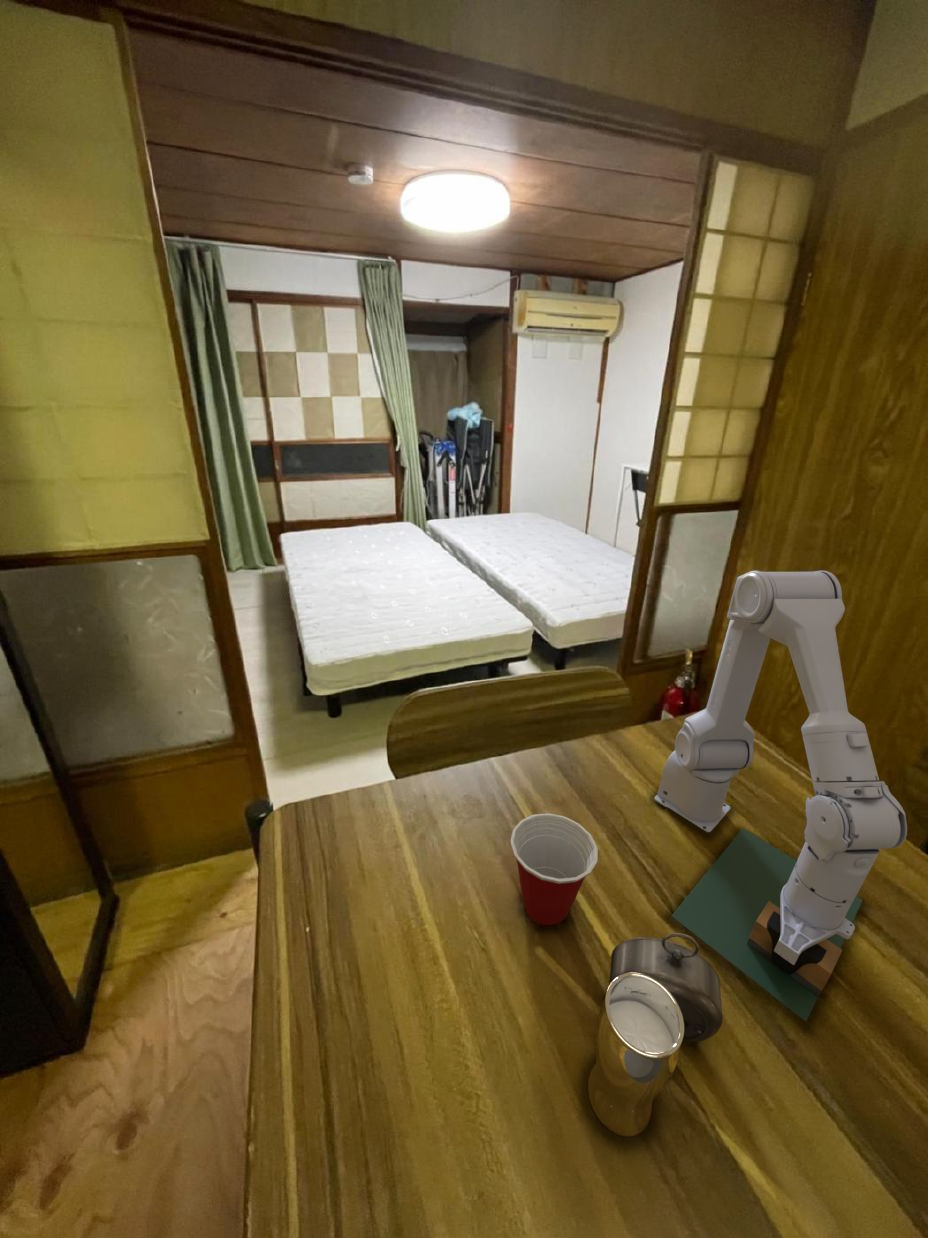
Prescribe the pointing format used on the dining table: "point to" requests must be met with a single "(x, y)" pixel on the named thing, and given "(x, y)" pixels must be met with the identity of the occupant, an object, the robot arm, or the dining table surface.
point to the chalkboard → (748, 913)
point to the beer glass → (633, 1051)
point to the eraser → (807, 974)
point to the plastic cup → (551, 864)
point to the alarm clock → (676, 979)
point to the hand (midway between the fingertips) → (788, 954)
